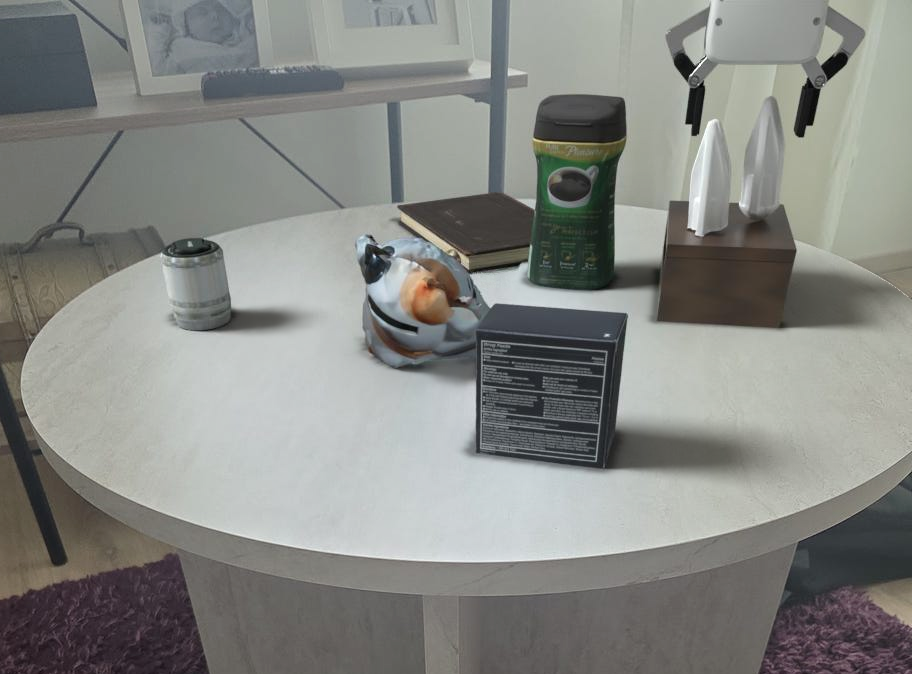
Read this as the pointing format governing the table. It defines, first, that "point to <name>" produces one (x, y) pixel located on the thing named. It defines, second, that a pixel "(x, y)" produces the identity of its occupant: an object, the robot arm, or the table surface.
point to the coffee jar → (576, 190)
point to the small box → (548, 383)
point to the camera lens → (197, 283)
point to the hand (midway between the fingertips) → (746, 133)
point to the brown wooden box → (726, 270)
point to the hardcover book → (474, 228)
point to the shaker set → (758, 173)
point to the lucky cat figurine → (417, 302)
